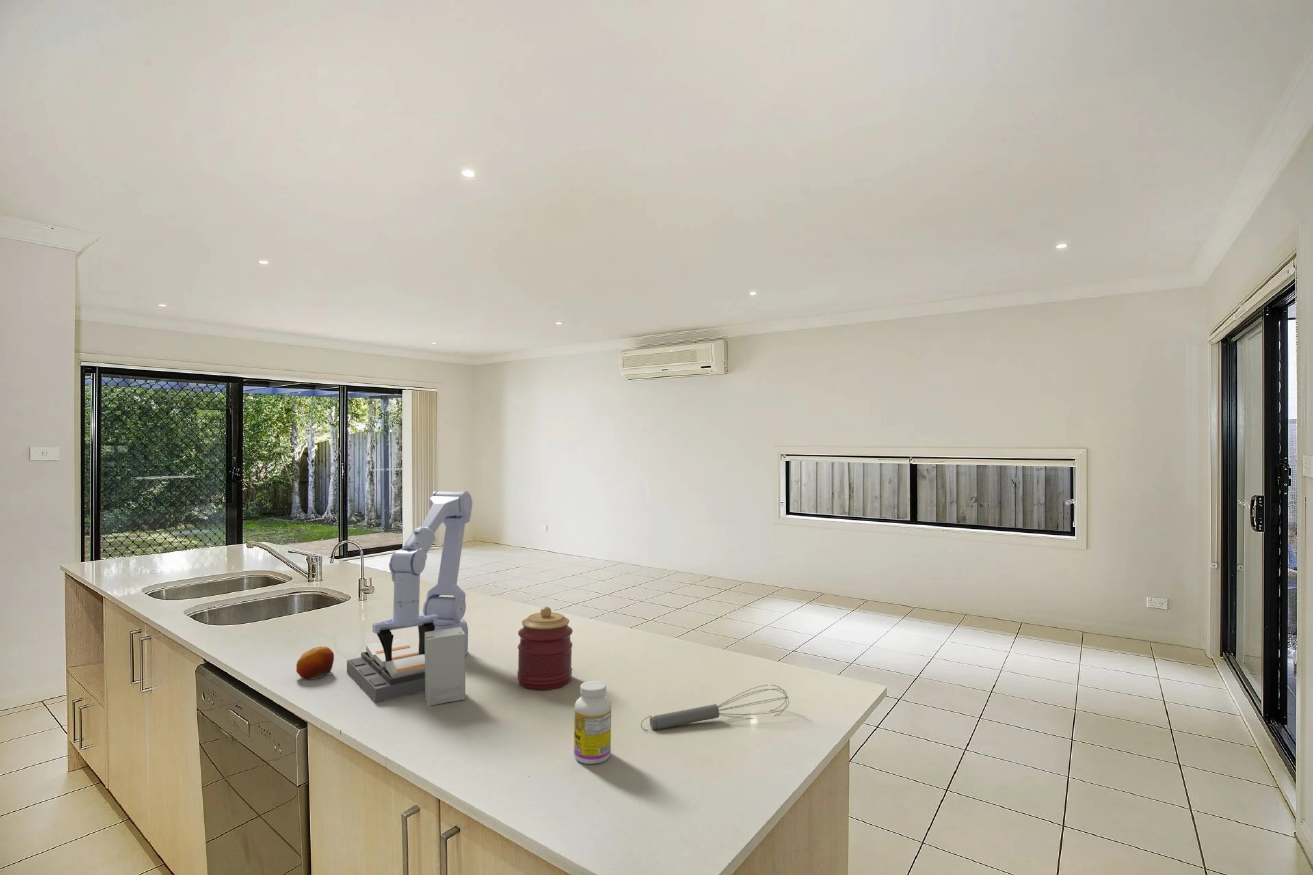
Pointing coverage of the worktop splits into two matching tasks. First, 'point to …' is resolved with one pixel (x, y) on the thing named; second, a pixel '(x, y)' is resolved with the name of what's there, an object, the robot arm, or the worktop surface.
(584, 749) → the supplement bottle
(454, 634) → the skincare box
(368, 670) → the rocker switch panel
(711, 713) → the kitchen whisk
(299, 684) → the worktop surface
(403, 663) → the panel
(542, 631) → the canister
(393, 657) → the rocker middle
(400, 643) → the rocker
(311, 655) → the fruit
